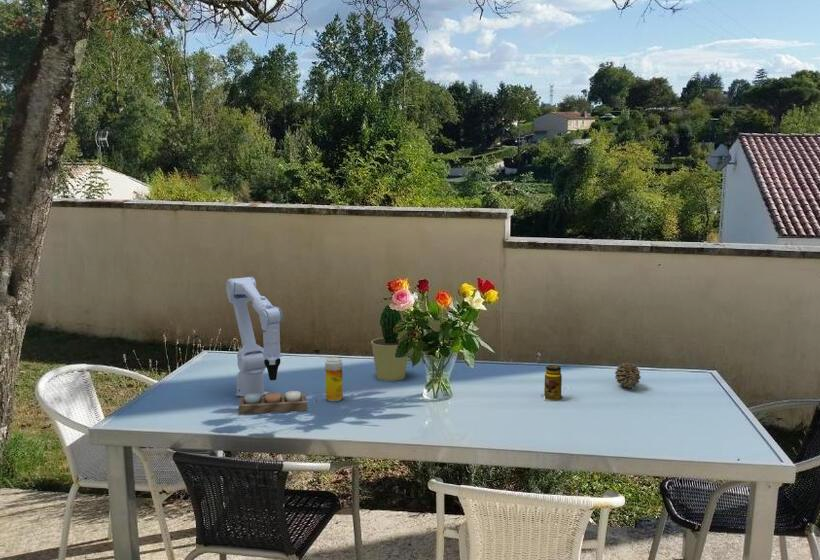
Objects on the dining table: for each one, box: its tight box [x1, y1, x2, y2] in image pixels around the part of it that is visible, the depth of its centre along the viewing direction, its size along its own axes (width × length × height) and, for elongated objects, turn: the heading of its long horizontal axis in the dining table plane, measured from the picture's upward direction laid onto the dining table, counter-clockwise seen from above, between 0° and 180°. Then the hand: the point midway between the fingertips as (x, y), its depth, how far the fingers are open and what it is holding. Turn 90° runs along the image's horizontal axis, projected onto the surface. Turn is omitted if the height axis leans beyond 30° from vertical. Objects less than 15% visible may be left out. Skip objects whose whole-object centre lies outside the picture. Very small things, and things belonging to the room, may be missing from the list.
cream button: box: [285, 390, 302, 402], centre depth 267 cm, size 5×5×3 cm
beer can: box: [324, 357, 344, 403], centre depth 275 cm, size 6×6×15 cm
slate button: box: [245, 393, 260, 404], centre depth 264 cm, size 5×5×3 cm
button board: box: [238, 393, 308, 416], centre depth 266 cm, size 23×10×3 cm, turn 100°
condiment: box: [540, 364, 565, 402], centre depth 276 cm, size 7×8×12 cm
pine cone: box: [614, 362, 642, 389], centre depth 292 cm, size 22×10×10 cm, turn 174°
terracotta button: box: [264, 391, 281, 403], centre depth 265 cm, size 5×5×3 cm
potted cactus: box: [370, 304, 409, 382], centre depth 303 cm, size 15×15×30 cm
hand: (272, 379), depth 267 cm, fingers closed
